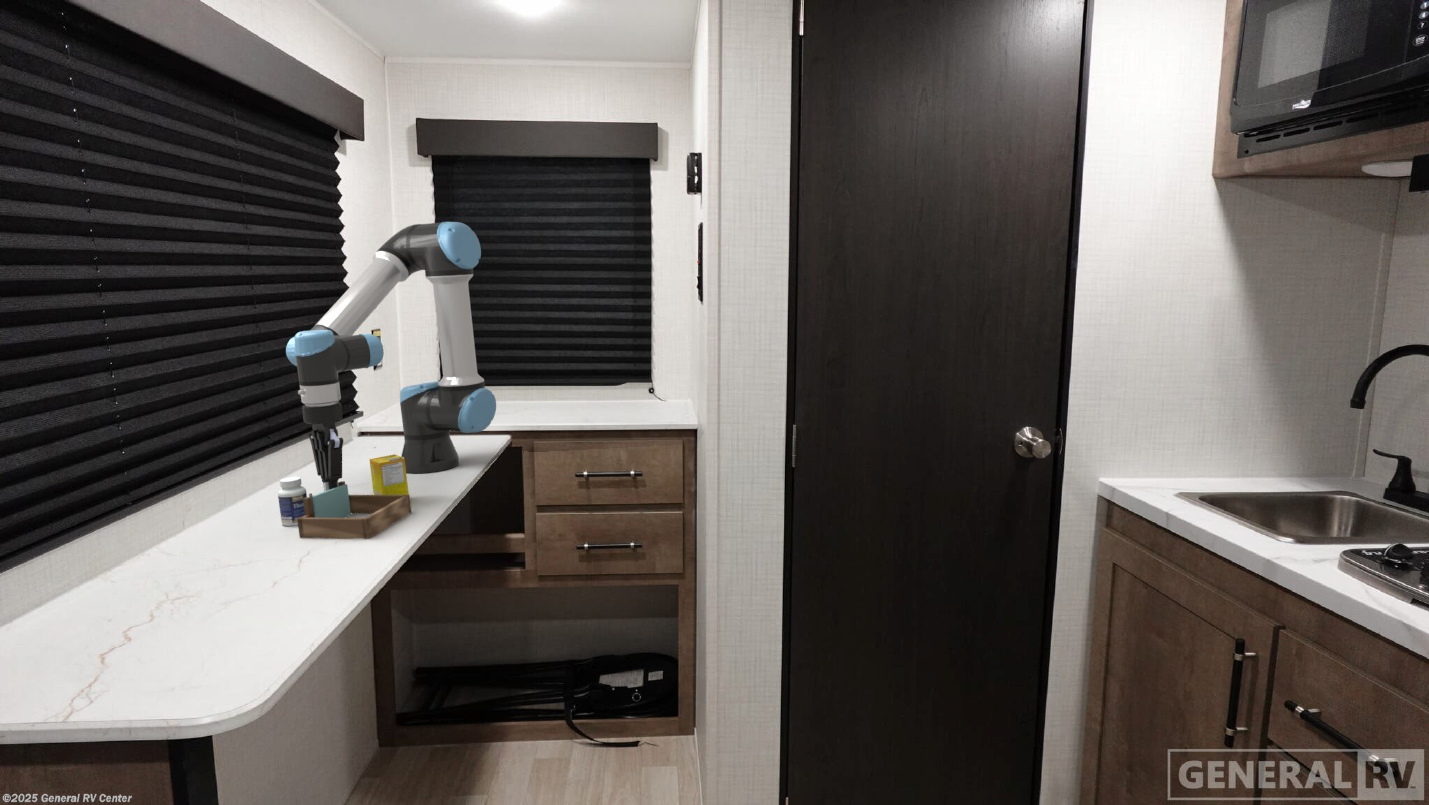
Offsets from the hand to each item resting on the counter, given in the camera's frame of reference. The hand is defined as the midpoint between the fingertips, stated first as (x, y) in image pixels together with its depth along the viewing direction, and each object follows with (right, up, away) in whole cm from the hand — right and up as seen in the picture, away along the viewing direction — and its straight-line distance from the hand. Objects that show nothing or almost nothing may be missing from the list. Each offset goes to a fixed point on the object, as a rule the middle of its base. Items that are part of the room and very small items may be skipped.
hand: (333, 508), depth 171 cm
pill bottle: (-7, -3, -2) cm, 8 cm away
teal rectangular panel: (+2, -2, -4) cm, 5 cm away
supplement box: (+9, 0, +9) cm, 13 cm away
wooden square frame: (+8, -3, -5) cm, 10 cm away
